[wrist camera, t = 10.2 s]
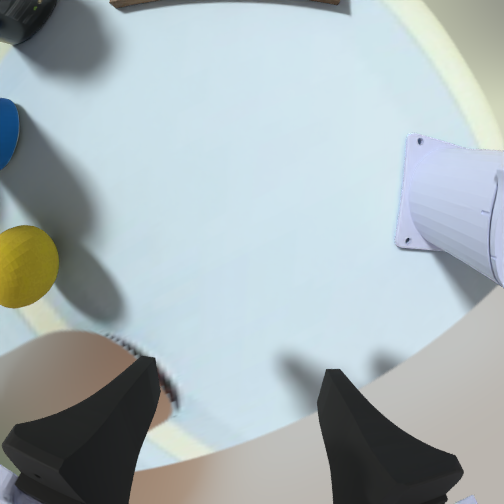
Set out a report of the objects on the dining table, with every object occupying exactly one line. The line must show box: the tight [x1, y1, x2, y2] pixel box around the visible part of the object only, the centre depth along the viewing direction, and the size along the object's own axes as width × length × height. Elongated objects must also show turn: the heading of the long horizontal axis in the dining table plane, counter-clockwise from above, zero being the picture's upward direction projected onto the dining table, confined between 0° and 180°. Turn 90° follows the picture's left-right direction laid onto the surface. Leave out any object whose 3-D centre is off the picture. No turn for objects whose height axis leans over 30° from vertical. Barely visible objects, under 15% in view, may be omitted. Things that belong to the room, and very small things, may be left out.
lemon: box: [0, 225, 59, 308], centre depth 16 cm, size 6×6×8 cm
